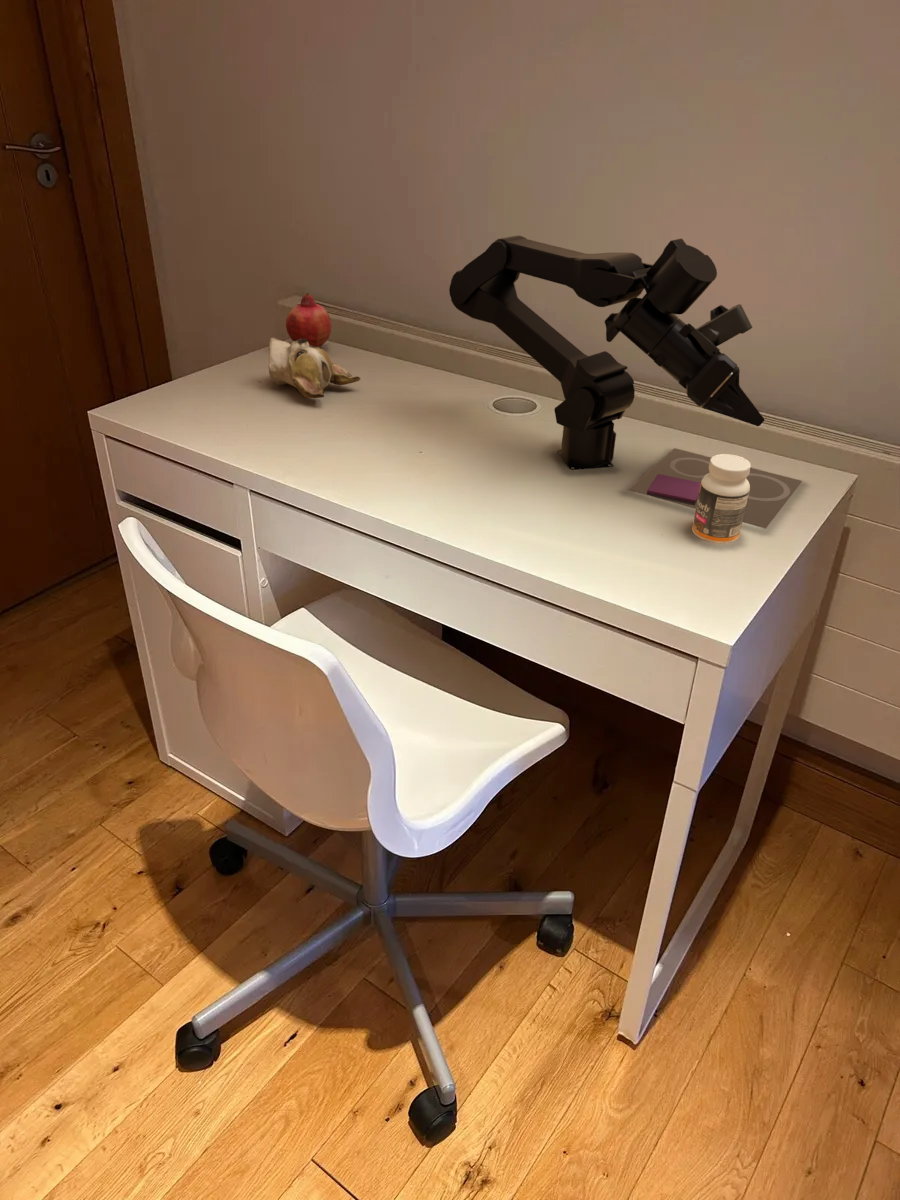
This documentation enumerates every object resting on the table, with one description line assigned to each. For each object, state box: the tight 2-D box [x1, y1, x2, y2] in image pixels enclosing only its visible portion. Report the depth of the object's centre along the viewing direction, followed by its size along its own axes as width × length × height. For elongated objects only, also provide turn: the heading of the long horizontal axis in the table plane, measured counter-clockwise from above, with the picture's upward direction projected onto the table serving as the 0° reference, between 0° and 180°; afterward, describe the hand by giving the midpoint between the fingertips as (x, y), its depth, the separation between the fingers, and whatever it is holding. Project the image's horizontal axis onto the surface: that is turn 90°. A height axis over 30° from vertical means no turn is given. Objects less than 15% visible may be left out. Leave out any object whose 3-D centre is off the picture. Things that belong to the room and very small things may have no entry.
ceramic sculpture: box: [267, 337, 361, 399], centre depth 151 cm, size 11×9×15 cm
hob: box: [628, 447, 803, 529], centre depth 126 cm, size 16×18×1 cm
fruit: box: [285, 292, 332, 348], centre depth 167 cm, size 8×8×10 cm
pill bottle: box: [691, 453, 752, 544], centre depth 112 cm, size 6×6×10 cm
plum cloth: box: [647, 474, 701, 503], centre depth 124 cm, size 6×6×1 cm
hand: (757, 418), depth 117 cm, fingers open, 9 cm apart
